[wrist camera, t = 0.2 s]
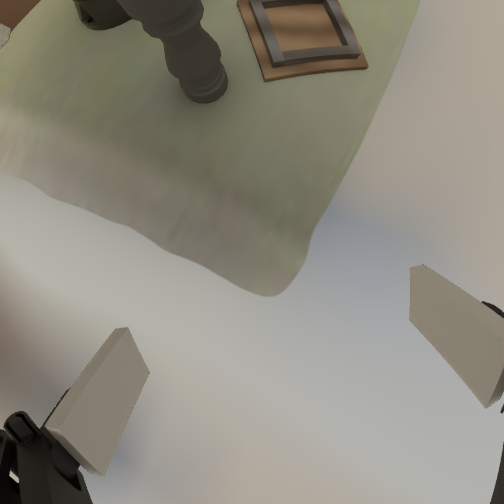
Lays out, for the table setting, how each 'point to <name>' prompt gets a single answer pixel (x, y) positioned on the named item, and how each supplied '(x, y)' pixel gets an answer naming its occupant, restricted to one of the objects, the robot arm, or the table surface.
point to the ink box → (4, 34)
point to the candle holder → (183, 44)
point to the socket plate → (300, 37)
